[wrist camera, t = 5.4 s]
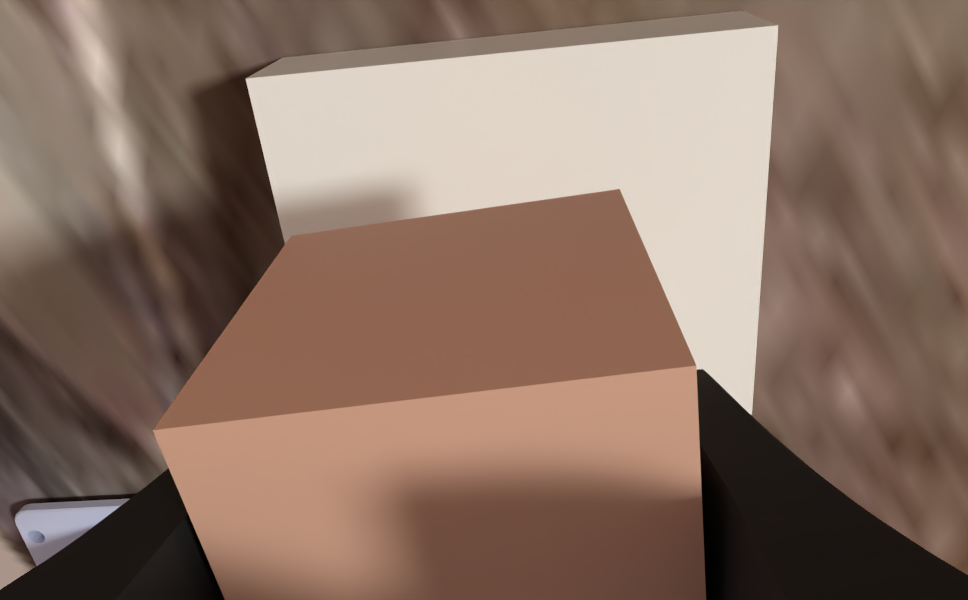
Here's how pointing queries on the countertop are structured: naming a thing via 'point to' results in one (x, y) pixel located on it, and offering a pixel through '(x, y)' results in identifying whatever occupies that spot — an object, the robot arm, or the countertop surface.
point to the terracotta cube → (450, 416)
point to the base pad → (551, 147)
